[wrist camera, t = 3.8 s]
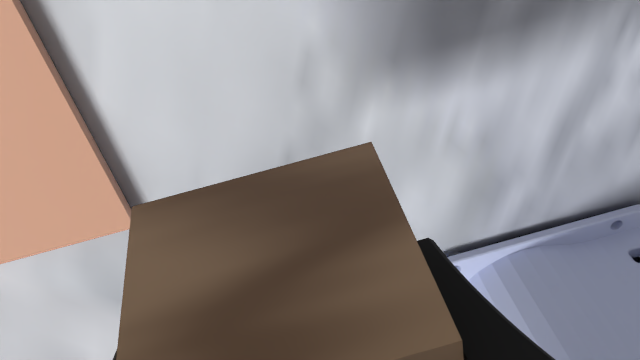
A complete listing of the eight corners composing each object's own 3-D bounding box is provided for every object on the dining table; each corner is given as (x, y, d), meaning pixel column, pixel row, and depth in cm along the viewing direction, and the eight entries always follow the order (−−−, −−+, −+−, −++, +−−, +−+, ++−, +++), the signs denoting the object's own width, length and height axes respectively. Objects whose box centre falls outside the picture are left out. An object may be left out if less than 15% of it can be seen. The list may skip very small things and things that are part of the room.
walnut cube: (371, 141, 12) (461, 340, 8) (397, 297, 15) (473, 495, 11) (131, 206, 12) (107, 440, 8) (208, 351, 15) (217, 569, 11)
